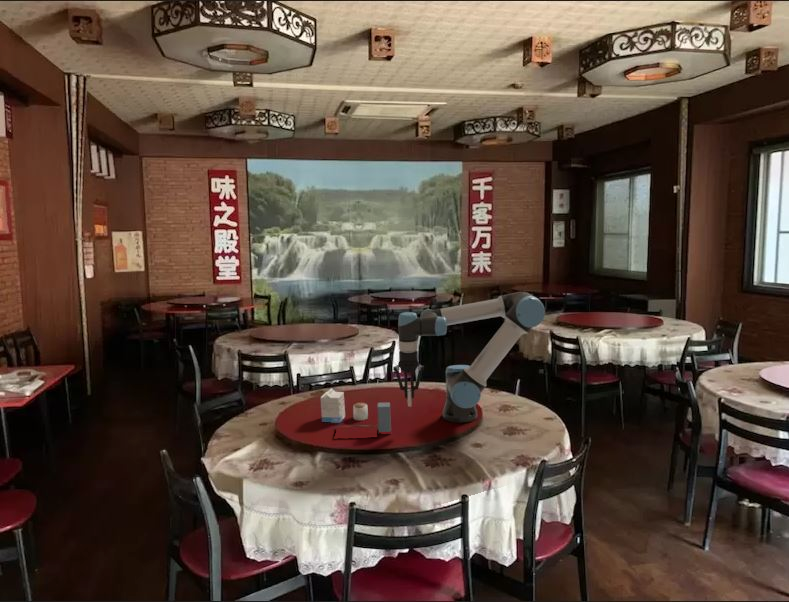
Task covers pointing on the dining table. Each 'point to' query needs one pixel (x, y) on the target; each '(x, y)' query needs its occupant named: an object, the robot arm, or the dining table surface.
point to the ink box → (332, 406)
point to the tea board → (359, 426)
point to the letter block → (384, 417)
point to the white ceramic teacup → (360, 411)
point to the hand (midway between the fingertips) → (409, 405)
